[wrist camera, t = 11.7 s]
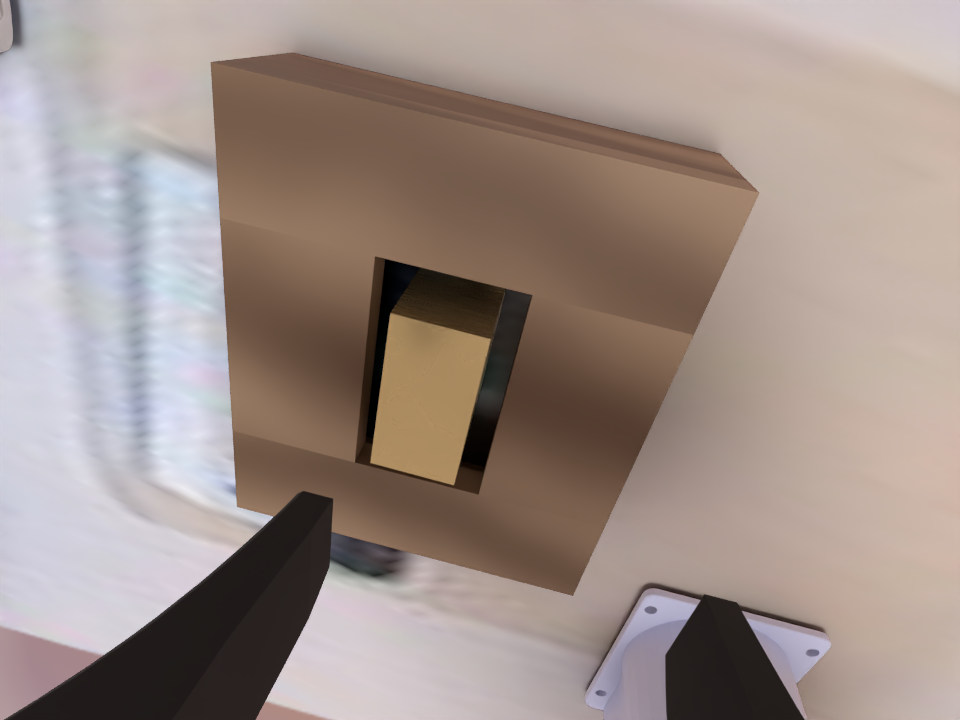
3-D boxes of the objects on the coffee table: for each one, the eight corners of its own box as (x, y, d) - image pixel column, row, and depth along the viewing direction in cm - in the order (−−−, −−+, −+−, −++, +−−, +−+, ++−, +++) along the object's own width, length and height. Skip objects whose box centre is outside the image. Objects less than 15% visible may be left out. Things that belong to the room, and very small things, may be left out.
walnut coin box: (574, 509, 23) (572, 595, 19) (288, 435, 23) (237, 506, 20) (720, 154, 15) (759, 192, 12) (292, 53, 16) (210, 62, 12)
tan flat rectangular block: (480, 388, 20) (453, 485, 16) (414, 371, 20) (370, 462, 16) (512, 262, 18) (490, 339, 14) (436, 242, 18) (390, 313, 14)
